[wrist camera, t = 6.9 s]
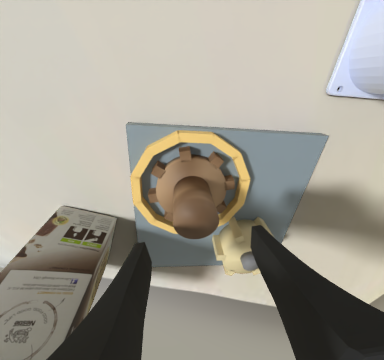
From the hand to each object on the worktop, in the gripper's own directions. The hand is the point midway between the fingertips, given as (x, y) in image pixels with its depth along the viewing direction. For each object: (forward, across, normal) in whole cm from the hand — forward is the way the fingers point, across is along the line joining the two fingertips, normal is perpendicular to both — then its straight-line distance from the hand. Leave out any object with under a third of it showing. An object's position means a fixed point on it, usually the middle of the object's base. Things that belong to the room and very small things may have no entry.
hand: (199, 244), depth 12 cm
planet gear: (+8, 0, 0) cm, 8 cm away
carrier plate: (+9, -3, +4) cm, 10 cm away
